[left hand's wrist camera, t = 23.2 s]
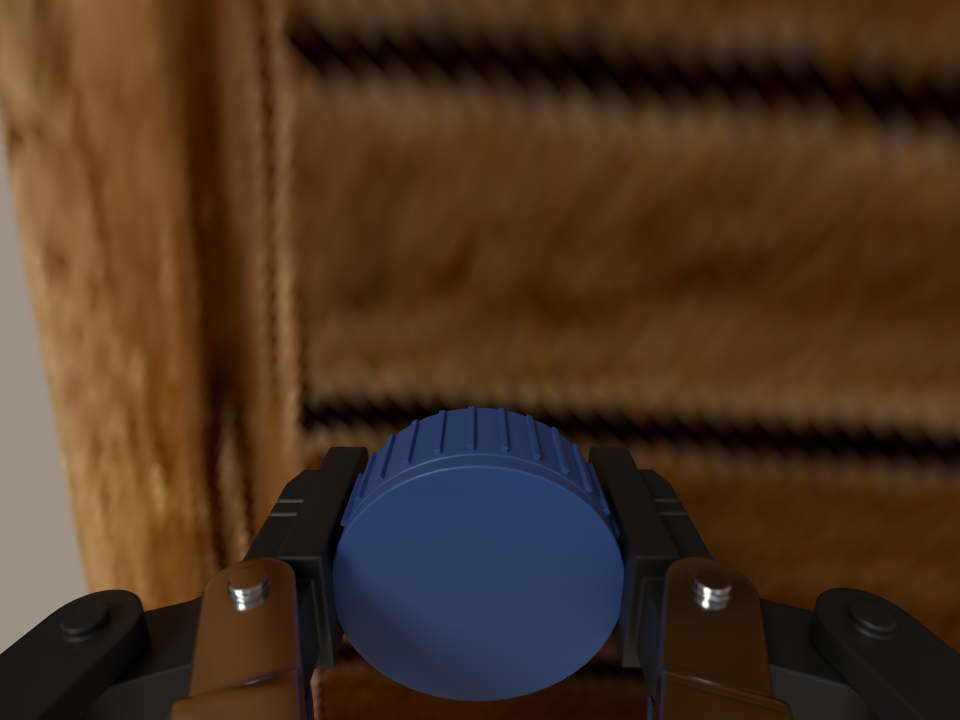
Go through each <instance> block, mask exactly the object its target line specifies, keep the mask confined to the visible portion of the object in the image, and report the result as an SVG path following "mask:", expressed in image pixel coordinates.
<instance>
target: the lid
mask: <svg viewBox="0 0 960 720" xmlns="http://www.w3.org/2000/svg"><path fill="white" fill-rule="evenodd" d="M340 525H342V526H344V529H343V532H342V535H341V538H340V541H339V543H338V546H337V549H336V553H335V556H334V559H333V563H332V578H333V587H334V596H335V604H336V613H337V619H338V622H339V624H340V626H341V628H342V630H343V631H344V633H345V635H346V637H347V638H348V640H349V641H350V642H351V644H352V645H353V647H354V648H355V649H356V650H357V651H358V652H359V653H360V654H361V656H362V657H363V658H364V659H365V660H366V661H367V662H369V663H370V664H371V665H372V666H374V667H375V668H376V669H377V670H378V671H380V672H381V673H383V674H385V675H386V676H388V677H389V678H391V679H392V680H394V681H396V682H398V683H400V684H402V685H404V686H406V687H409V688H411V689H414V690H417V691H420V692H422V693H425V694H429V695H433V696H437V697H441V698H447V699H453V700H462V701H495V700H502V699H509V698H514V697H519V696H523V695H527V694H530V693H533V692H536V691H539V690H542V689H545V688H547V687H549V686H551V685H553V684H555V683H558V682H560V681H561V680H563V679H565V678H566V677H568V676H570V675H571V674H573V673H575V672H576V671H577V670H578V669H580V668H581V667H582V666H584V665H585V664H586V663H587V662H588V661H589V660H590V659H591V658H592V657H593V656H594V655H595V654H596V653H597V652H598V651H599V650H600V649H601V648H602V646H603V645H604V644H605V642H606V641H607V640H608V638H609V637H610V635H611V633H612V631H613V630H614V628H615V626H616V624H617V621H618V619H619V614H620V606H621V597H622V588H623V579H624V561H623V558H622V554H621V551H620V548H619V545H618V542H617V539H619V531H618V529H617V526H616V523H615V520H614V518H613V515H612V512H611V509H610V507H609V504H608V501H607V498H606V496H605V493H604V490H603V488H602V485H601V486H600V483H599V480H598V478H597V475H596V472H595V469H594V467H593V465H592V463H590V464H587V463H586V461H585V460H584V458H583V457H582V455H581V453H580V450H579V447H578V446H577V445H576V444H575V443H574V444H573V445H572V444H571V443H570V442H568V441H567V440H566V439H565V438H564V437H563V436H561V435H560V434H559V433H558V429H556V428H555V427H552V428H550V427H548V426H546V425H545V424H542V423H540V422H538V421H536V420H534V419H533V417H532V416H531V415H528V414H527V416H523V415H520V414H517V413H514V412H509V411H504V408H498V409H487V408H475V407H474V406H469V407H468V409H459V410H453V411H447V412H445V410H442V411H439V414H436V415H433V416H430V417H427V418H425V419H423V420H420V421H418V420H417V419H416V420H414V421H412V424H411V425H410V426H409V427H407V428H405V429H404V430H402V431H400V432H399V433H398V434H397V435H394V434H392V435H390V436H389V438H388V441H387V443H386V444H385V445H384V446H383V447H382V448H381V449H380V450H379V451H378V452H377V453H375V452H373V453H372V454H371V455H370V458H369V461H368V464H367V467H366V470H365V472H364V475H363V474H361V473H359V475H358V478H357V480H356V483H355V486H354V488H353V491H352V494H351V496H350V499H349V502H348V505H347V507H346V510H345V513H344V515H343V518H342V521H341V524H340Z"/></svg>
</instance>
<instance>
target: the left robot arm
mask: <svg viewBox="0 0 960 720" xmlns="http://www.w3.org/2000/svg"><path fill="white" fill-rule="evenodd" d="M368 461H369V458H368V452H367V449H366V447H331V448H330V449H329V451H328V453H327V455H326V457H325V459H324V461H323V463H322V465H321V467H320V469H319V470H304V471H303V472H302V473H300V474H299V475H298V476H296V477H295V478H294V479H293V480H291V481H290V482H289V483H287V485H286V486H285V488H284V490H283V492H282V493H281V495H280V497H279V498H278V503H276V504H275V505H274V507H273V509H272V511H271V512H270V517H268V518H267V519H266V521H265V523H264V525H263V526H262V528H261V530H260V532H259V533H258V535H257V537H256V539H255V540H254V542H253V544H252V545H251V547H250V549H249V551H248V552H247V554H246V556H245V558H244V559H243V561H241V562H238V563H235V564H233V565H231V566H229V567H227V568H225V569H224V570H222V571H221V572H219V573H218V574H217V575H215V576H214V577H213V578H212V579H211V580H210V581H209V583H208V584H207V585H206V586H205V588H204V590H203V592H202V596H201V597H199V598H196V599H194V600H191V601H187V602H184V603H180V604H176V605H171V606H167V607H163V608H159V609H154V610H150V611H146V612H144V610H143V606H142V603H141V600H140V599H139V597H138V596H137V595H135V594H134V593H132V592H129V591H126V590H105V591H100V592H95V593H92V594H89V595H86V596H83V597H81V598H78V599H76V600H74V601H72V602H70V603H68V604H66V605H64V606H63V607H61V608H59V609H58V610H56V611H55V612H53V613H52V614H51V615H49V616H48V617H47V618H46V619H44V620H43V621H42V622H41V623H39V624H38V625H37V626H35V627H34V628H33V629H32V630H30V631H29V632H28V633H27V634H25V635H24V636H23V637H22V638H20V639H19V640H18V641H17V642H15V643H14V644H13V645H12V646H10V647H9V648H8V649H7V650H5V651H4V652H3V653H1V654H0V720H314V708H313V698H312V691H311V684H310V681H311V678H312V675H313V672H314V668H334V666H335V663H336V659H337V656H338V652H339V649H340V645H341V641H342V638H343V634H344V631H343V630H342V628H341V626H340V624H339V622H338V619H337V613H336V604H335V596H334V587H333V578H332V563H333V559H334V556H335V553H336V549H337V546H338V543H339V541H340V538H341V535H342V532H343V529H344V526H342V525H340V524H341V521H342V518H343V515H344V513H345V510H346V507H347V505H348V502H349V499H350V496H351V494H352V491H353V488H354V486H355V483H356V480H357V478H358V475H359V473H361V474H363V475H364V472H365V470H366V467H367V464H368ZM590 463H592V465H593V467H594V469H595V472H596V475H597V478H598V480H599V483H600V486H601V485H602V488H603V490H604V493H605V496H606V498H607V501H608V504H609V507H610V509H611V512H612V515H613V518H614V520H615V523H616V526H617V529H618V531H619V539H617V542H618V545H619V548H620V551H621V554H622V558H623V561H624V579H623V588H622V597H621V606H620V614H619V619H618V621H617V624H616V626H615V628H614V630H613V631H612V632H613V635H614V639H615V643H616V646H617V650H618V654H619V657H620V661H621V665H622V667H642V671H643V674H644V677H645V680H646V683H647V687H648V689H649V691H648V698H647V708H646V720H960V654H959V653H957V652H956V651H955V650H953V649H952V648H951V647H950V646H948V645H947V644H946V643H945V642H943V641H942V640H941V639H940V638H938V637H937V636H936V635H935V634H933V633H932V632H931V631H930V630H928V629H927V628H926V627H925V626H923V625H922V624H921V623H919V622H918V621H917V620H916V619H914V618H913V617H912V616H911V615H909V614H908V613H907V612H905V611H904V610H903V609H901V608H900V607H898V606H897V605H895V604H893V603H892V602H890V601H888V600H886V599H884V598H882V597H879V596H877V595H874V594H872V593H868V592H865V591H861V590H857V589H850V588H834V589H830V590H827V591H825V592H823V593H821V594H820V596H819V597H818V599H817V601H816V605H815V608H814V611H810V610H806V609H801V608H797V607H793V606H788V605H784V604H780V603H776V602H772V601H768V600H764V599H762V598H759V596H758V592H757V590H756V588H755V586H754V585H753V584H752V583H751V581H750V580H749V579H748V578H747V577H746V576H745V575H743V574H742V573H741V572H739V571H738V570H736V569H735V568H733V567H731V566H729V565H727V564H725V563H722V562H719V561H717V560H713V559H712V557H711V555H710V553H709V552H708V550H707V548H706V546H705V545H704V543H703V541H702V539H701V537H700V536H699V534H698V532H697V530H696V529H695V527H694V525H693V523H692V522H691V520H690V518H689V516H687V515H686V511H685V509H684V507H683V506H682V504H681V502H679V499H678V497H677V495H676V493H675V492H674V490H673V488H672V486H671V484H670V483H669V482H667V481H666V480H665V479H664V478H662V477H661V476H660V475H658V474H657V473H656V472H655V471H653V470H638V469H637V467H636V465H635V463H634V461H633V459H632V456H631V454H630V452H629V450H628V449H627V447H591V448H590V452H589V459H588V464H590Z"/></svg>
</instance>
